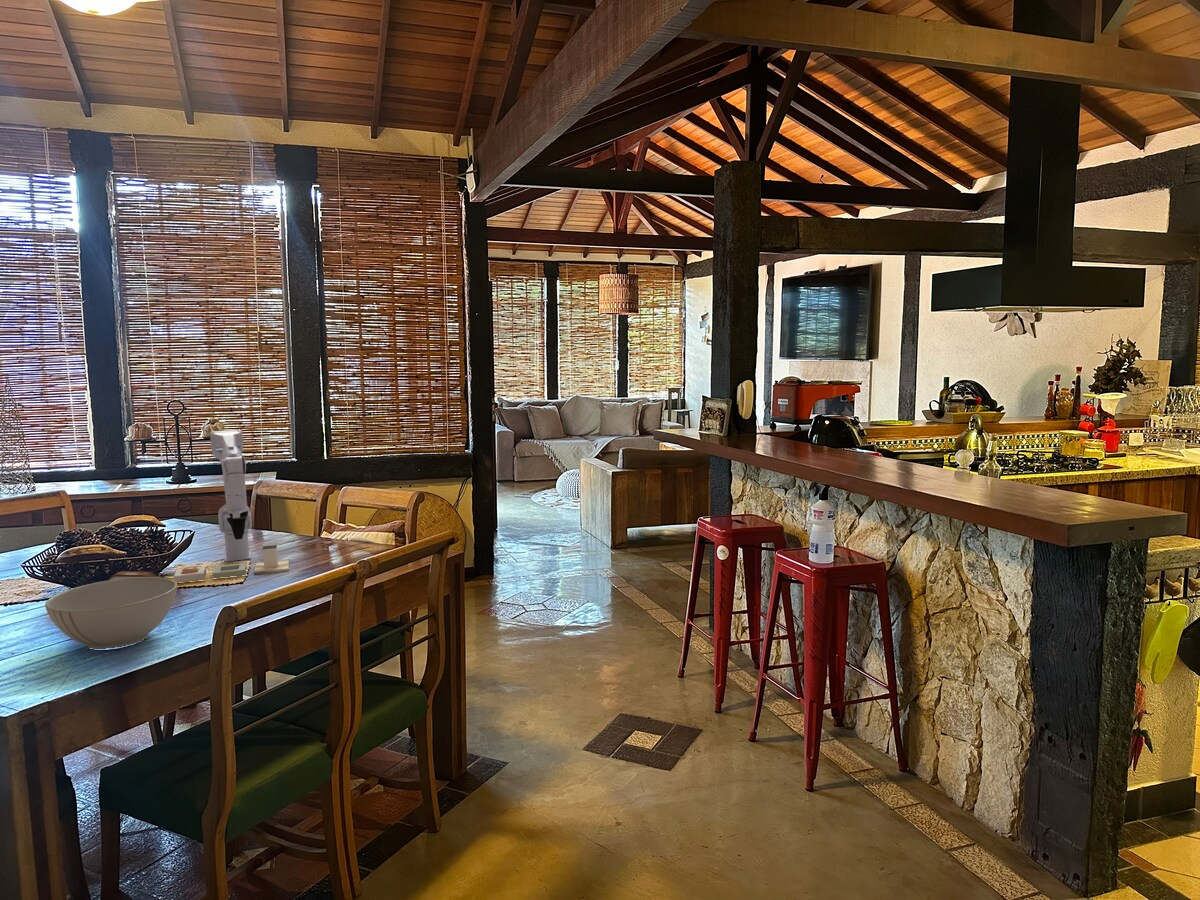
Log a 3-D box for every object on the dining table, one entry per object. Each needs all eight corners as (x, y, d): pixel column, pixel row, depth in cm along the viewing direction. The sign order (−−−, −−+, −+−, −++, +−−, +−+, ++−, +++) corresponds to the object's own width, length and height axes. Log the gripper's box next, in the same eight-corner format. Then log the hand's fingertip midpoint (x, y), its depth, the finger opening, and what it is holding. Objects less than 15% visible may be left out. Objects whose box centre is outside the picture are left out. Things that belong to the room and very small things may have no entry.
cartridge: (264, 564, 254) (262, 543, 253) (277, 563, 256) (276, 542, 255) (264, 567, 251) (262, 546, 250) (277, 566, 252) (276, 544, 251)
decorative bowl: (30, 669, 173) (24, 616, 172) (75, 629, 199) (70, 582, 198) (165, 655, 180) (161, 603, 179) (192, 617, 206) (188, 572, 205)
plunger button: (184, 576, 243) (183, 567, 243) (198, 575, 245) (197, 565, 244) (182, 580, 240) (181, 570, 239) (197, 578, 241) (196, 569, 241)
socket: (215, 572, 250) (215, 566, 250) (246, 568, 253) (246, 562, 253) (213, 579, 241) (212, 573, 241) (245, 576, 245) (244, 569, 244)
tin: (164, 600, 222) (161, 570, 221) (156, 603, 219) (154, 573, 218) (114, 599, 224) (111, 570, 223) (106, 603, 221) (103, 573, 220)
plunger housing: (177, 577, 245) (177, 569, 244) (206, 574, 247) (205, 566, 247) (174, 584, 237) (173, 576, 237) (203, 581, 240) (203, 573, 240)
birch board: (255, 565, 257) (255, 562, 257) (288, 561, 261) (288, 559, 261) (254, 574, 246) (254, 572, 246) (288, 570, 250) (288, 568, 249)
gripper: (224, 492, 256) (227, 533, 258) (220, 499, 243) (224, 542, 244) (247, 490, 259) (251, 531, 260) (245, 497, 245) (248, 540, 247)
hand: (239, 536), depth 252 cm, fingers open, 7 cm apart
